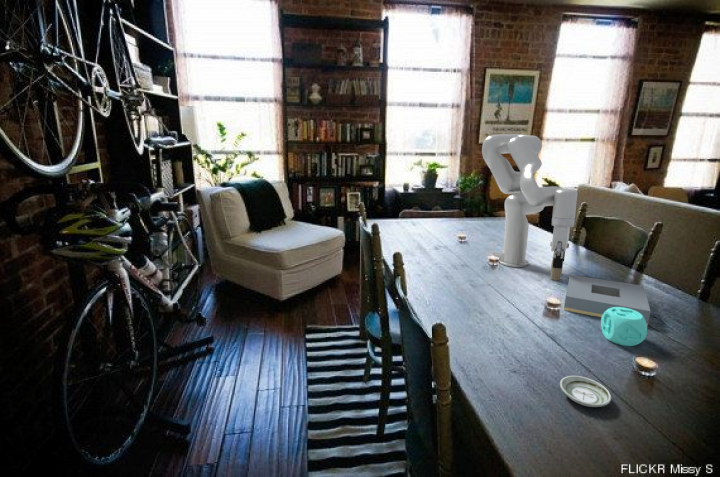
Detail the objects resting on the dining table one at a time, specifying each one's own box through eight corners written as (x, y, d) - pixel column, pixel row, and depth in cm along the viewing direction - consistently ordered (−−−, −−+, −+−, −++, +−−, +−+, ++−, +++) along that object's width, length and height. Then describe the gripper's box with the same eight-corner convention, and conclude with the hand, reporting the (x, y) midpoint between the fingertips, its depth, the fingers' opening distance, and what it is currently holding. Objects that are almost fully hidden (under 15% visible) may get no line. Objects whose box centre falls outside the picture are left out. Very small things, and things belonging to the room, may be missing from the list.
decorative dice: (644, 347, 99) (650, 320, 97) (611, 345, 101) (616, 318, 99) (629, 332, 107) (633, 307, 105) (598, 330, 108) (603, 305, 106)
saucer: (561, 408, 79) (563, 398, 78) (556, 380, 87) (557, 371, 87) (615, 419, 75) (617, 409, 75) (603, 389, 84) (605, 380, 83)
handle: (565, 282, 144) (570, 245, 140) (547, 280, 146) (551, 244, 142) (563, 278, 148) (567, 242, 144) (545, 276, 150) (549, 241, 146)
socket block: (563, 309, 121) (565, 295, 120) (568, 287, 139) (570, 274, 138) (647, 326, 110) (650, 311, 109) (640, 299, 128) (643, 285, 127)
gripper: (554, 216, 149) (550, 257, 154) (549, 225, 135) (545, 269, 139) (575, 218, 146) (570, 259, 150) (572, 226, 131) (567, 272, 136)
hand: (558, 264), depth 145 cm, fingers open, 9 cm apart
